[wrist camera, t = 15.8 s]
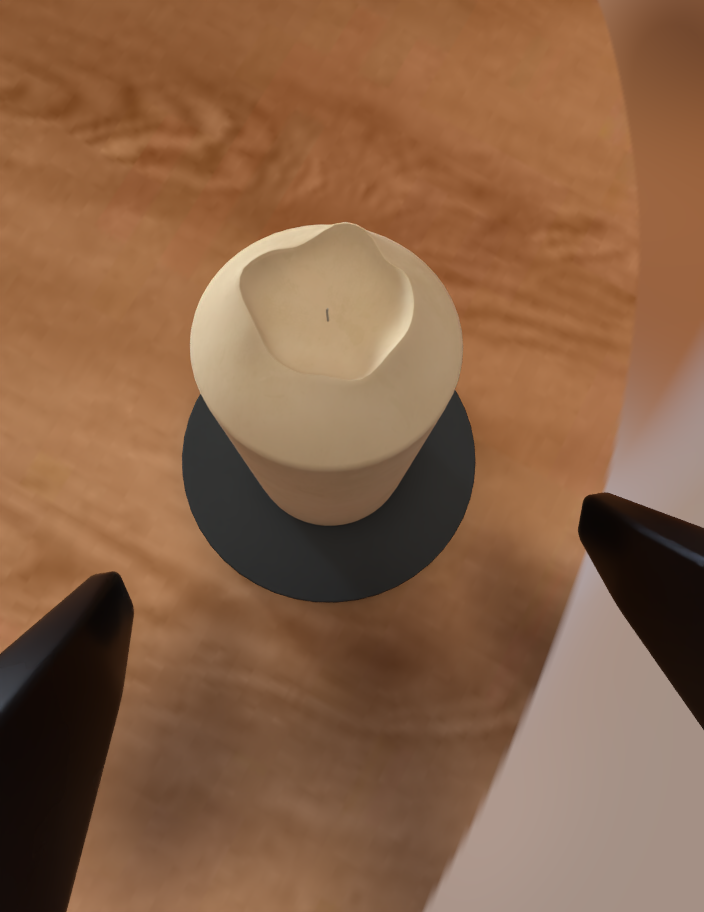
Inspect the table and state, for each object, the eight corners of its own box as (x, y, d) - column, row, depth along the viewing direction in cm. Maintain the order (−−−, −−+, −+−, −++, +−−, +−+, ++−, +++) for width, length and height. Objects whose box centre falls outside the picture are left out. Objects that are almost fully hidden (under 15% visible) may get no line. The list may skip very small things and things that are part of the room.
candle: (233, 500, 17) (108, 385, 8) (286, 368, 19) (236, 133, 9) (378, 548, 17) (439, 491, 7) (420, 410, 18) (516, 213, 9)
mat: (513, 399, 19) (518, 393, 19) (396, 659, 16) (399, 661, 16) (276, 287, 20) (275, 278, 20) (128, 514, 18) (121, 511, 17)
